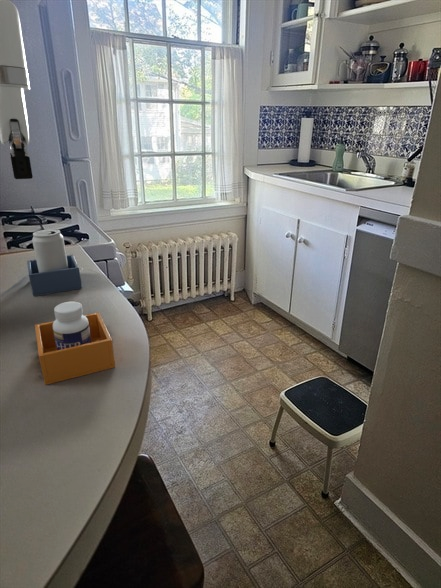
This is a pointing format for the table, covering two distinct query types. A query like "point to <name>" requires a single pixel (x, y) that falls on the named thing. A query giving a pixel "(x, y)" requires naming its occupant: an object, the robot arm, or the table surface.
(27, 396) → the table surface
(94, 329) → the amber bin
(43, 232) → the beverage can
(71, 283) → the slate bin
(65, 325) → the pill bottle
